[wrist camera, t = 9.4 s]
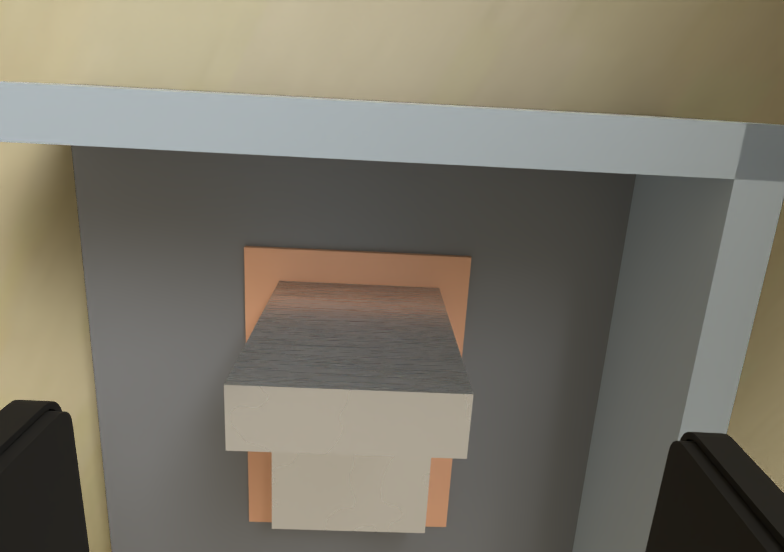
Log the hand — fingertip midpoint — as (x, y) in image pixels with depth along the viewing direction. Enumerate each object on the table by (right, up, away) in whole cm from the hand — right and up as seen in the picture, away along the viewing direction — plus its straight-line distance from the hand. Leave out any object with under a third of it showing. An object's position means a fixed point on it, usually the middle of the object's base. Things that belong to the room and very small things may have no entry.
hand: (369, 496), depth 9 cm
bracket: (-1, -1, +10) cm, 10 cm away
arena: (0, 0, +11) cm, 11 cm away
